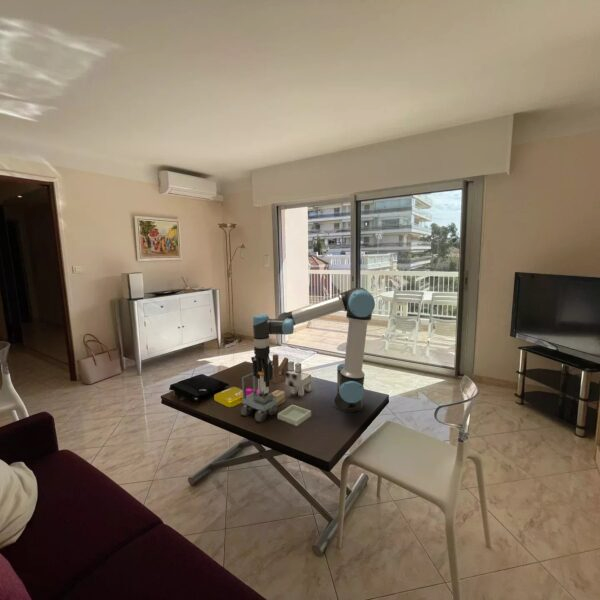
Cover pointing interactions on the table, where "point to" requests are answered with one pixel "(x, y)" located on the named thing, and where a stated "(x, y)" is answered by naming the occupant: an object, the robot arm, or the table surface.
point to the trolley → (257, 402)
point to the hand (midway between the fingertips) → (263, 391)
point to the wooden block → (279, 369)
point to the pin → (262, 383)
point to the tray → (294, 415)
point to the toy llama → (297, 379)
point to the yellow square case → (229, 397)
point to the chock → (279, 396)
